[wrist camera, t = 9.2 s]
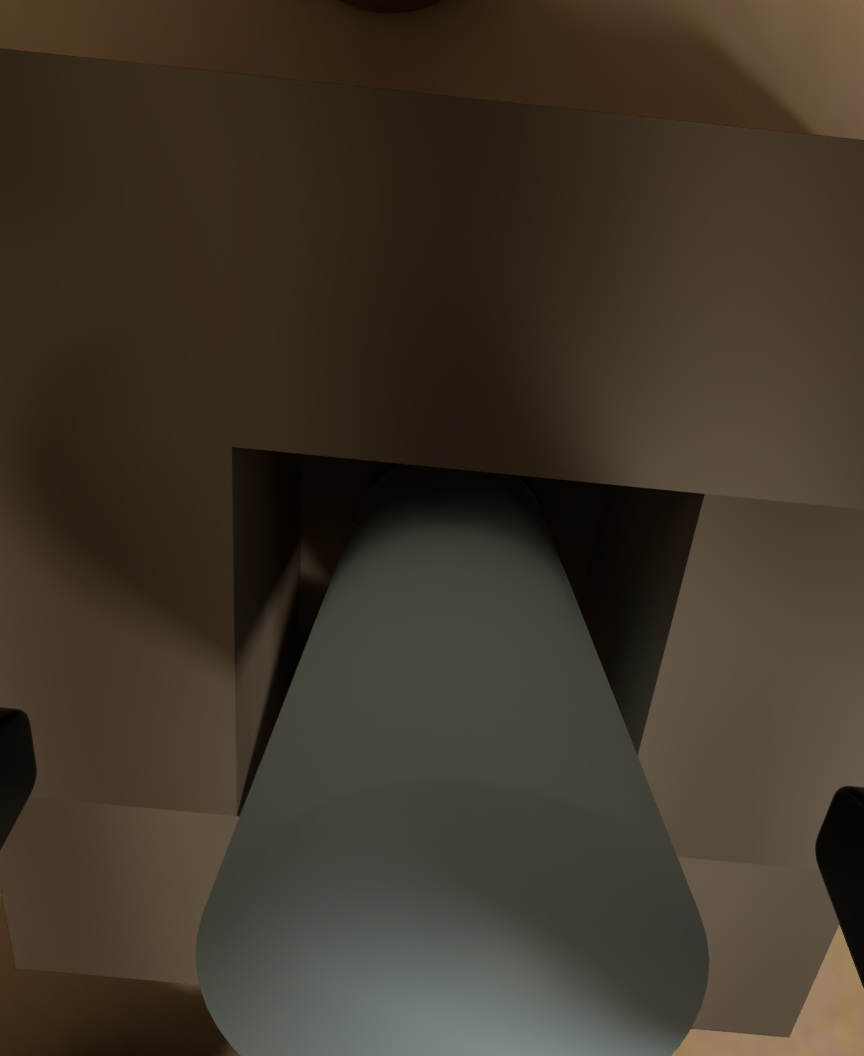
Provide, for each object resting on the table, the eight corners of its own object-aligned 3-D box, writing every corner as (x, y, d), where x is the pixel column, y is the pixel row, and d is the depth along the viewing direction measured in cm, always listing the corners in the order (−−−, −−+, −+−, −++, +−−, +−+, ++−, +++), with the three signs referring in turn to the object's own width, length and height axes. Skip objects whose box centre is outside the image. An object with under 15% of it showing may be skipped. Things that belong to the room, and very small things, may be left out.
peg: (561, 461, 13) (772, 808, 4) (531, 639, 14) (648, 1155, 6) (357, 441, 13) (185, 753, 4) (347, 622, 14) (202, 1117, 6)
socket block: (899, 211, 11) (1171, 172, 7) (700, 839, 16) (789, 1037, 12) (71, 124, 11) (-161, 31, 7) (129, 786, 16) (16, 968, 12)
